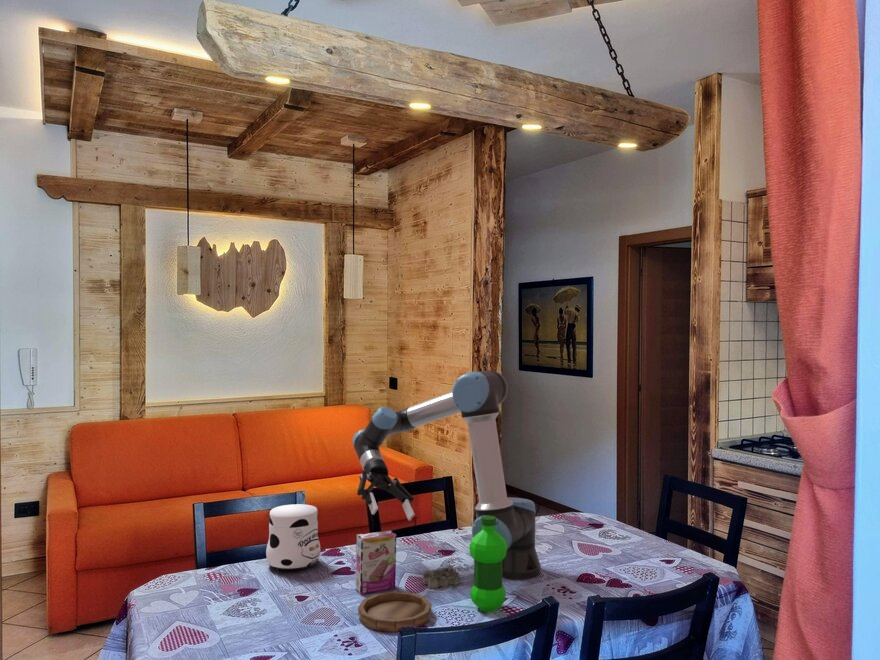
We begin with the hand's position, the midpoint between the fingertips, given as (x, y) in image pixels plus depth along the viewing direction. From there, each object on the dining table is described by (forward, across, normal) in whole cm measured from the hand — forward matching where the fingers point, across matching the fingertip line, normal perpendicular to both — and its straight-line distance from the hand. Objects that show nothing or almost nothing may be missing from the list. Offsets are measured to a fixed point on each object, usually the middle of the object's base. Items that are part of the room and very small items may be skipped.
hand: (393, 514), depth 204 cm
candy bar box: (+14, +1, -17) cm, 22 cm away
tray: (+31, +6, -8) cm, 32 cm away
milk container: (-12, +12, -38) cm, 42 cm away
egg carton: (+16, -17, -9) cm, 26 cm away
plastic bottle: (+35, -17, +3) cm, 39 cm away
